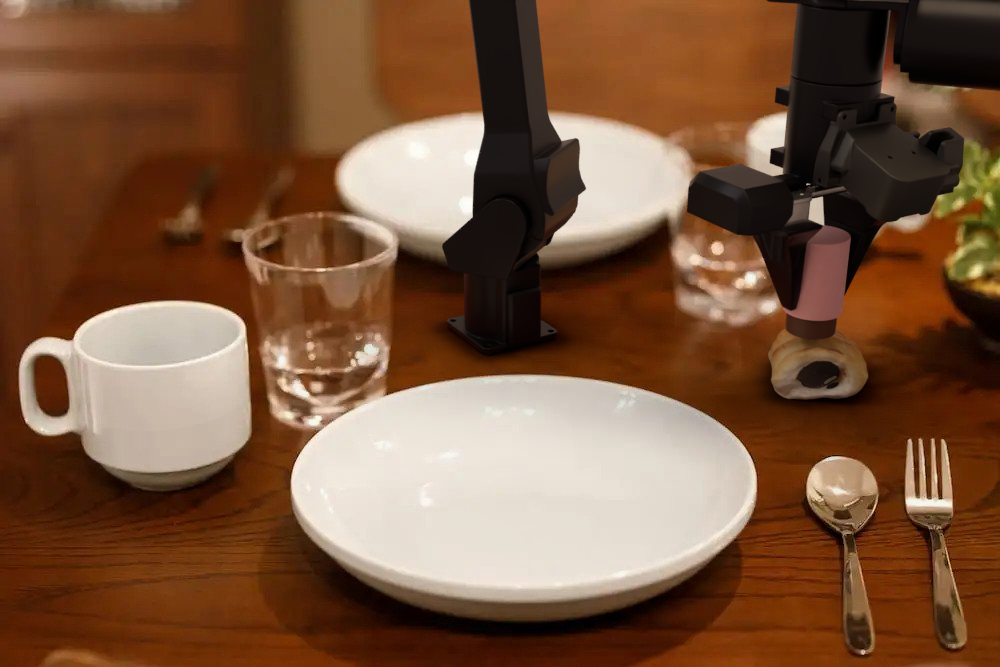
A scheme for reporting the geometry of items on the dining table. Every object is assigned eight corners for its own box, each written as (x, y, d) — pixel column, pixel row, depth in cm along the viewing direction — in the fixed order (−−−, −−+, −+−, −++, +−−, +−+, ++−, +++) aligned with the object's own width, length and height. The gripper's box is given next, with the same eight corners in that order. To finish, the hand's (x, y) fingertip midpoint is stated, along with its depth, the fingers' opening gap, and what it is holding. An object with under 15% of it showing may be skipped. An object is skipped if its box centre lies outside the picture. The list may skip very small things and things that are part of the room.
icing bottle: (768, 325, 91) (777, 230, 88) (812, 314, 93) (822, 220, 90) (807, 346, 88) (818, 248, 85) (852, 334, 90) (863, 237, 87)
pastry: (762, 345, 98) (767, 298, 97) (854, 350, 98) (860, 303, 96) (770, 401, 90) (775, 350, 88) (870, 407, 89) (877, 356, 88)
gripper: (811, 123, 72) (786, 376, 79) (1040, 84, 81) (1001, 316, 87) (689, 83, 81) (675, 314, 88) (906, 52, 90) (880, 264, 96)
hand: (812, 302), depth 89 cm, fingers closed on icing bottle, 4 cm apart
